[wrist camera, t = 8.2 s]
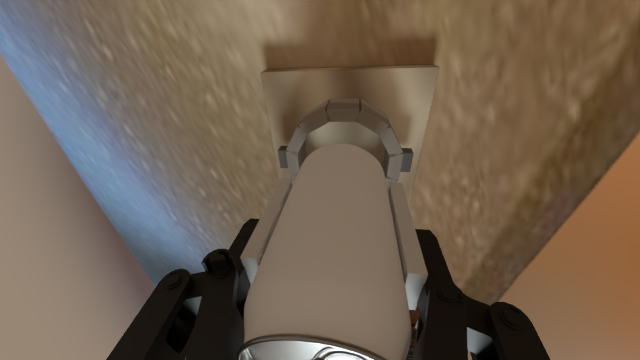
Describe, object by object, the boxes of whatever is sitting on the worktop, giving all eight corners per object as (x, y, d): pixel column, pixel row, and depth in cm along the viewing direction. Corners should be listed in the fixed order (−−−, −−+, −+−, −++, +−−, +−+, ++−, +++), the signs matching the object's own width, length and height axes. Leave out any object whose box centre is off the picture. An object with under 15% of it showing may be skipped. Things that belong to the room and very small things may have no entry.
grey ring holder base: (286, 195, 28) (275, 221, 24) (266, 69, 20) (246, 78, 16) (405, 201, 26) (413, 230, 22) (433, 64, 18) (453, 73, 14)
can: (403, 180, 17) (469, 403, 7) (341, 223, 20) (325, 416, 10) (339, 121, 15) (303, 305, 5) (283, 178, 18) (192, 360, 8)
